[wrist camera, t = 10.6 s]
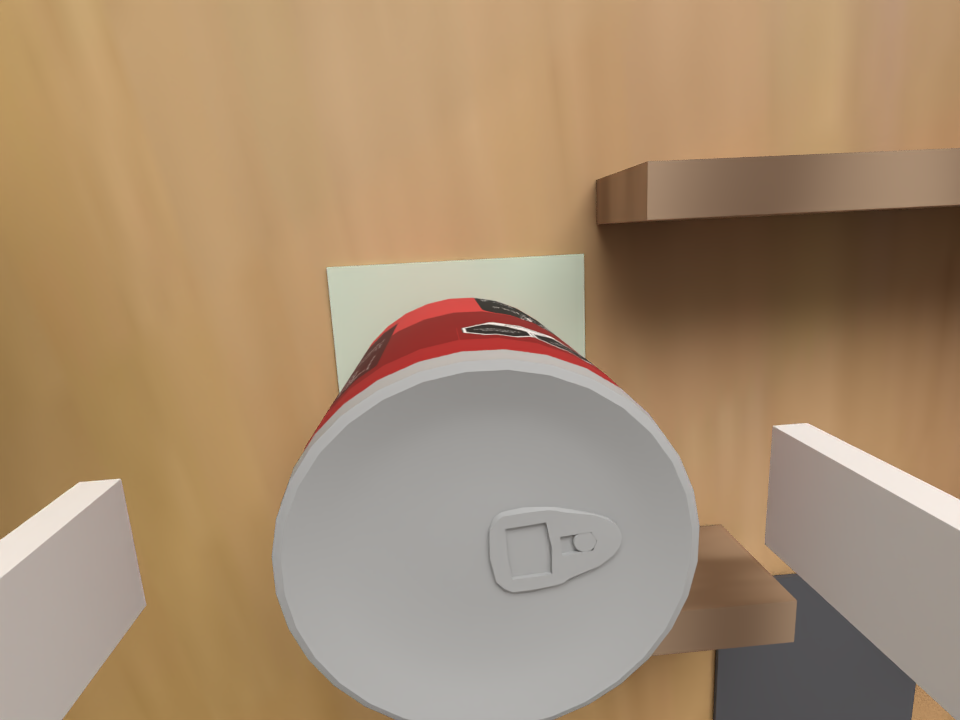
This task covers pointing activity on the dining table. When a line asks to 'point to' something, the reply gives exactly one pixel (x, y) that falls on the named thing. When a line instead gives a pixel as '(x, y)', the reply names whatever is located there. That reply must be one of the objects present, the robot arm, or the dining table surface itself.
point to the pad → (453, 296)
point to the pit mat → (811, 671)
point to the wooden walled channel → (748, 193)
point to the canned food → (482, 524)
